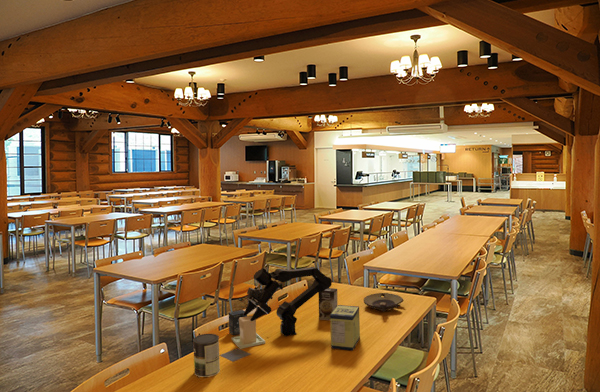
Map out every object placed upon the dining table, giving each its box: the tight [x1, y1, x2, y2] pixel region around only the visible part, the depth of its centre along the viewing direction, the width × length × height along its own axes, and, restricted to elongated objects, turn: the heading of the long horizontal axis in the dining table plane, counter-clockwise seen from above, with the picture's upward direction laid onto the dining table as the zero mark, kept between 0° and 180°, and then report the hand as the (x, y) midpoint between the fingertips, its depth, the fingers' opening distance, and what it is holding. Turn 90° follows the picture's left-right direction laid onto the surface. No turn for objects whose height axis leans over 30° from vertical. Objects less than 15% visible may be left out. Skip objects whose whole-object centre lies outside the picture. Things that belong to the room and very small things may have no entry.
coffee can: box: [192, 333, 221, 378], centre depth 177 cm, size 10×10×14 cm
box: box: [228, 309, 248, 336], centre depth 220 cm, size 8×6×11 cm
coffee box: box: [317, 287, 338, 321], centre depth 236 cm, size 9×6×16 cm
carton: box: [239, 315, 257, 345], centre depth 207 cm, size 6×6×11 cm
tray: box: [231, 332, 266, 350], centre depth 207 cm, size 12×12×2 cm
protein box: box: [329, 304, 361, 351], centre depth 202 cm, size 10×16×16 cm
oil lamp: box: [363, 292, 404, 312], centre depth 250 cm, size 22×30×8 cm
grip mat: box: [219, 347, 252, 363], centre depth 193 cm, size 10×10×1 cm
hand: (247, 317), depth 207 cm, fingers open, 9 cm apart
